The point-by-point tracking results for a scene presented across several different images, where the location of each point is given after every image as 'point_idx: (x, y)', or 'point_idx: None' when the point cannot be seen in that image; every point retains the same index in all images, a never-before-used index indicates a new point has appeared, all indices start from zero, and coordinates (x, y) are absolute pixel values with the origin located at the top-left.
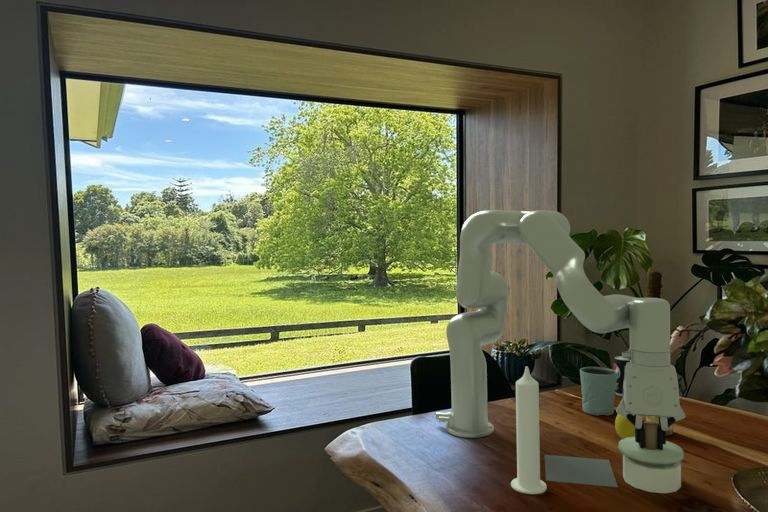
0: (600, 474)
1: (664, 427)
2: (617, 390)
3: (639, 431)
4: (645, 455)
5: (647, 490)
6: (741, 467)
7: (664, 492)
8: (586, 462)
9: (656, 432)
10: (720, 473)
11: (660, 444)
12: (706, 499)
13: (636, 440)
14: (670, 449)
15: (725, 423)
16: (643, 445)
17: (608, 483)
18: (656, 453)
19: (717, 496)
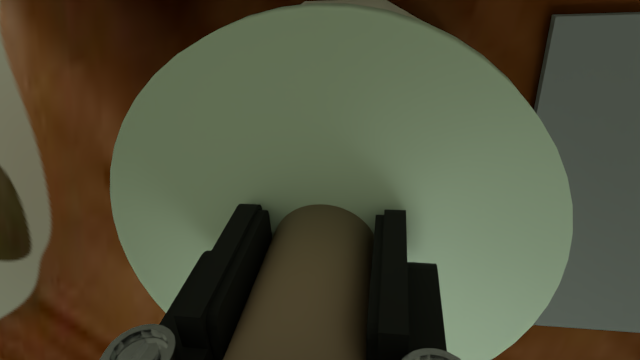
0: (601, 167)
1: (141, 357)
2: None
3: (411, 337)
4: (399, 66)
5: (391, 5)
6: (24, 315)
7: (303, 2)
8: (623, 288)
9: (245, 319)
10: (79, 266)
11: (244, 224)
12: (117, 4)
13: (436, 270)
14: (191, 229)
15: None
16: (384, 220)
17: (598, 57)
18: (296, 135)
19: (76, 52)
